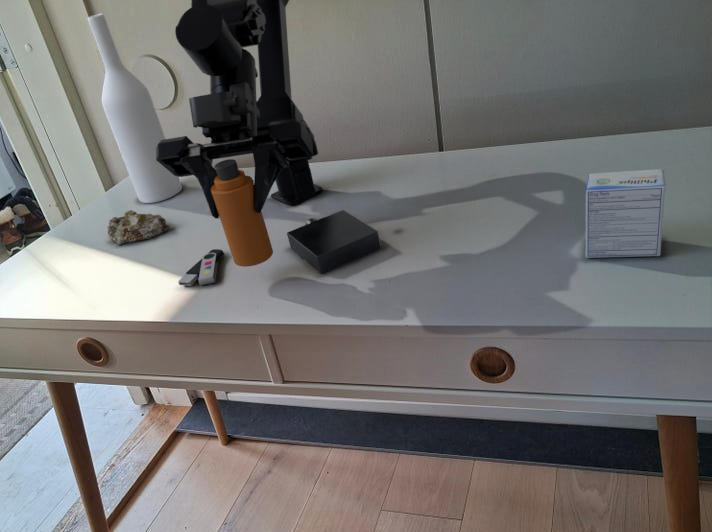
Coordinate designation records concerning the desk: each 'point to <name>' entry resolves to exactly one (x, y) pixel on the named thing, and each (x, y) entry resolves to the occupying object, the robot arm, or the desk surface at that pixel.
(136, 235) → the mineral rock
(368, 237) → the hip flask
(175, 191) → the bottle
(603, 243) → the medicine box
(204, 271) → the usb flash drive
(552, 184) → the desk surface
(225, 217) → the amber bottle
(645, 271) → the desk surface
